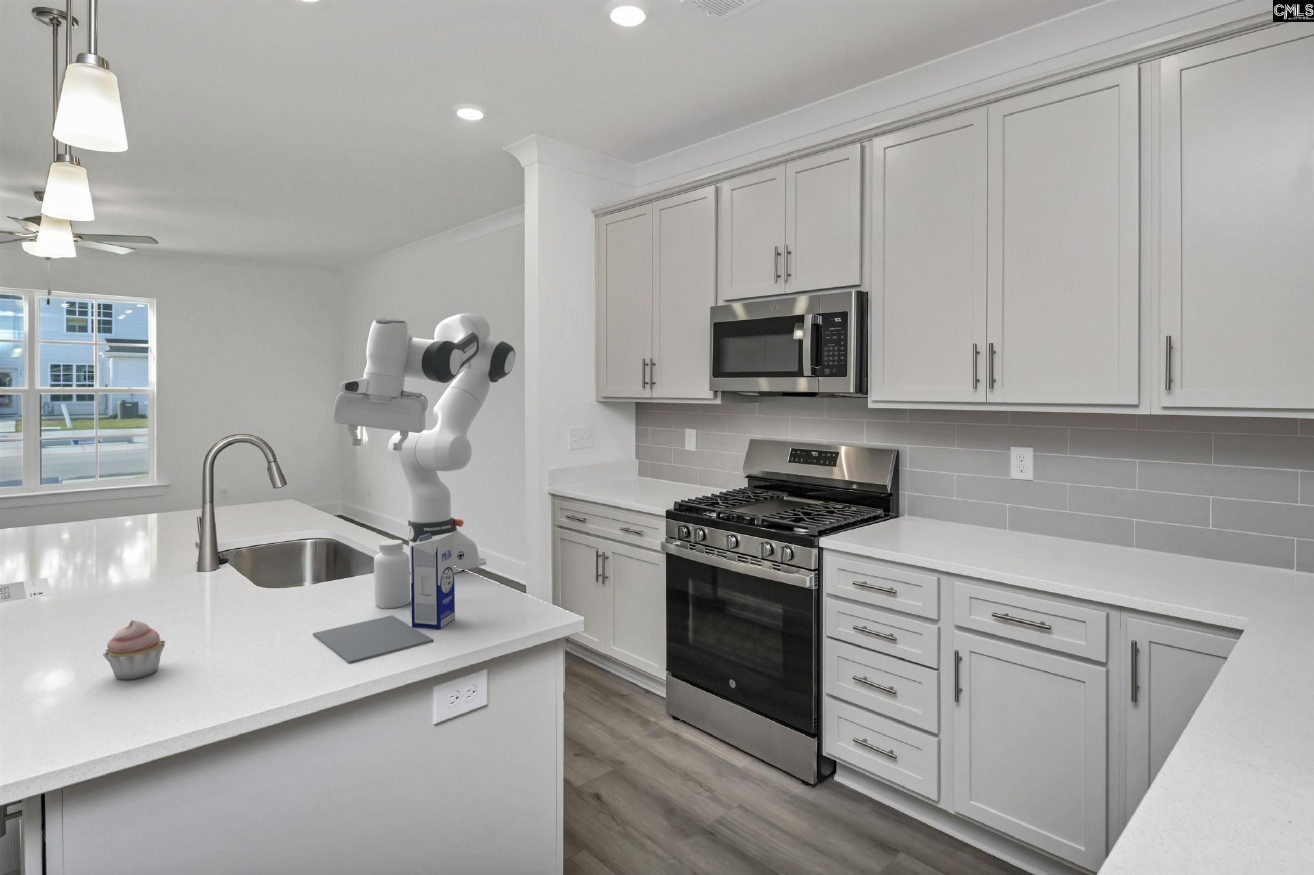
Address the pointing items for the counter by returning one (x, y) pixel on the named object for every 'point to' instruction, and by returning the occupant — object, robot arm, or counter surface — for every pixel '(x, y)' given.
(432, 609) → the milk carton
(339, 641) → the mat
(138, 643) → the cupcake
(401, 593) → the pill bottle
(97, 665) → the counter surface
